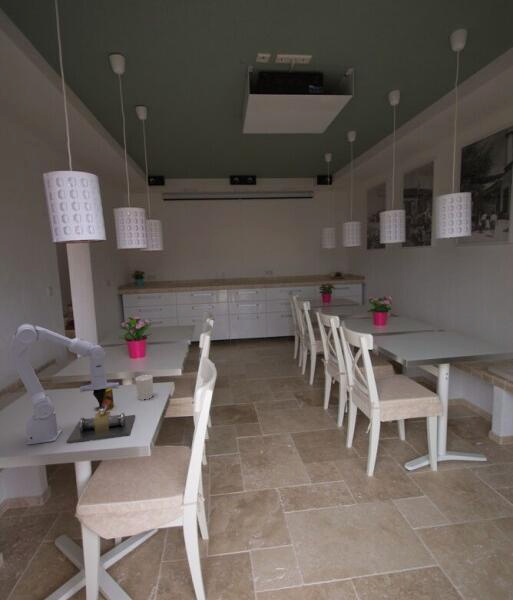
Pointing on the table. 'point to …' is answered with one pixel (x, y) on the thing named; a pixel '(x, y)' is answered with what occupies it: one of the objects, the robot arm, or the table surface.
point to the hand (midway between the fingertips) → (101, 406)
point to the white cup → (144, 386)
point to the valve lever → (103, 406)
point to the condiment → (109, 397)
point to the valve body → (102, 427)
